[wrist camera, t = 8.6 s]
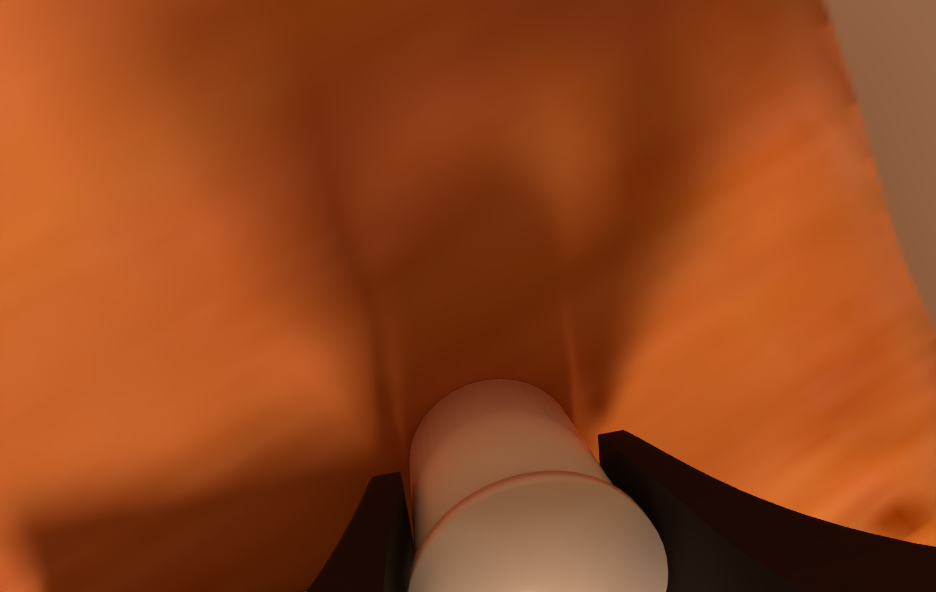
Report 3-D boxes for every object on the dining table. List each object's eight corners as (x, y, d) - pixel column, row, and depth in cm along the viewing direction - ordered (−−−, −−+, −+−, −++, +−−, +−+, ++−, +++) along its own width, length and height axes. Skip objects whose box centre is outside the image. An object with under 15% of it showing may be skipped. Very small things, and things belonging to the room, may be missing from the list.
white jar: (416, 551, 14) (427, 727, 10) (386, 389, 13) (385, 511, 9) (588, 515, 15) (671, 670, 10) (575, 356, 13) (664, 457, 9)
